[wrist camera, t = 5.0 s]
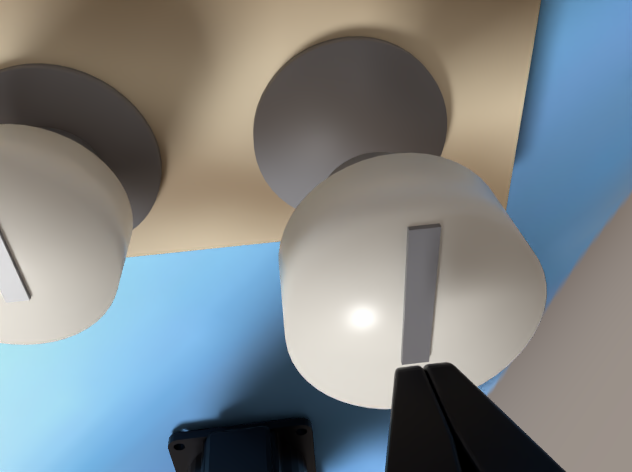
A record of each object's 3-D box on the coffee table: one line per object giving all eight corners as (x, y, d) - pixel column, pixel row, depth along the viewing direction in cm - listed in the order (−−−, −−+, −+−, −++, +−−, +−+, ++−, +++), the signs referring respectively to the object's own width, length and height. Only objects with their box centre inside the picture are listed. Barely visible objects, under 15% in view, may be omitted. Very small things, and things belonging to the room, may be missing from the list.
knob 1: (159, 234, 17) (139, 335, 13) (-3, 251, 17) (-64, 358, 13) (120, 81, 14) (83, 160, 11) (-74, 98, 14) (-174, 184, 11)
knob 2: (461, 269, 15) (525, 398, 11) (282, 288, 15) (295, 426, 11) (483, 99, 12) (574, 202, 9) (263, 118, 12) (273, 233, 9)
